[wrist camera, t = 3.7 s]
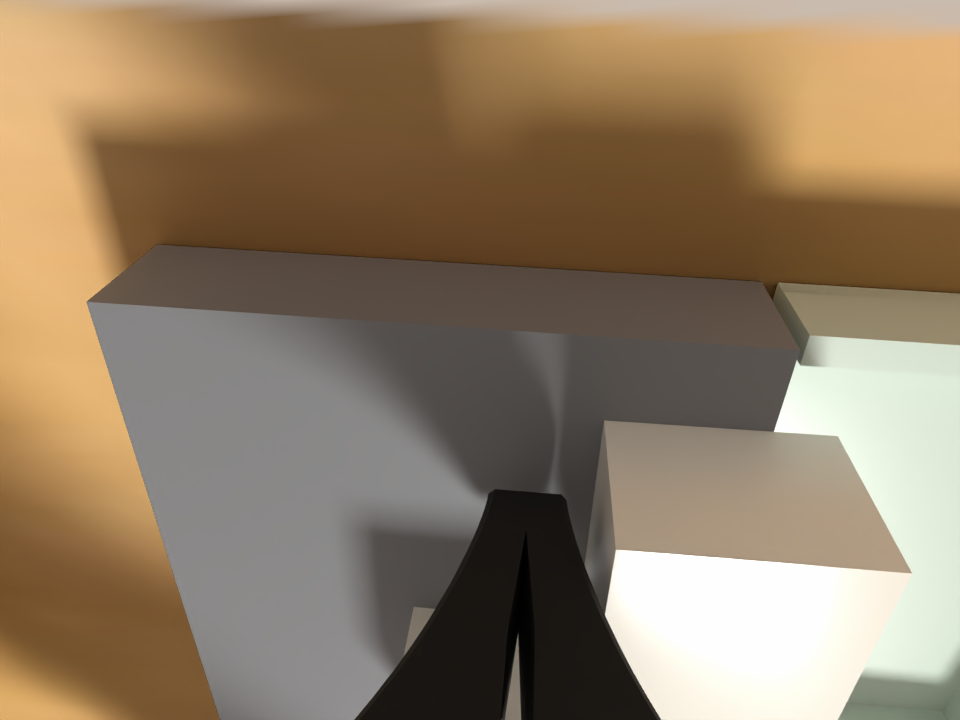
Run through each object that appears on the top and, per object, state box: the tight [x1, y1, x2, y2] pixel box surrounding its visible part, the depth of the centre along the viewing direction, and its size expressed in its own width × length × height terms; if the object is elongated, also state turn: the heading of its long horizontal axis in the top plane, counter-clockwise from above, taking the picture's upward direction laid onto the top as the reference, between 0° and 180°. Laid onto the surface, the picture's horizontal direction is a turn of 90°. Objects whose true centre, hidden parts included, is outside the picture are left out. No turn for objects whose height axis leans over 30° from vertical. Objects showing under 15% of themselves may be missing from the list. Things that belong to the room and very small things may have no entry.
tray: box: [773, 282, 960, 720], centre depth 16 cm, size 8×13×2 cm, turn 179°
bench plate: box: [87, 245, 800, 720], centre depth 16 cm, size 12×13×2 cm
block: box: [585, 420, 912, 720], centre depth 12 cm, size 4×4×3 cm
